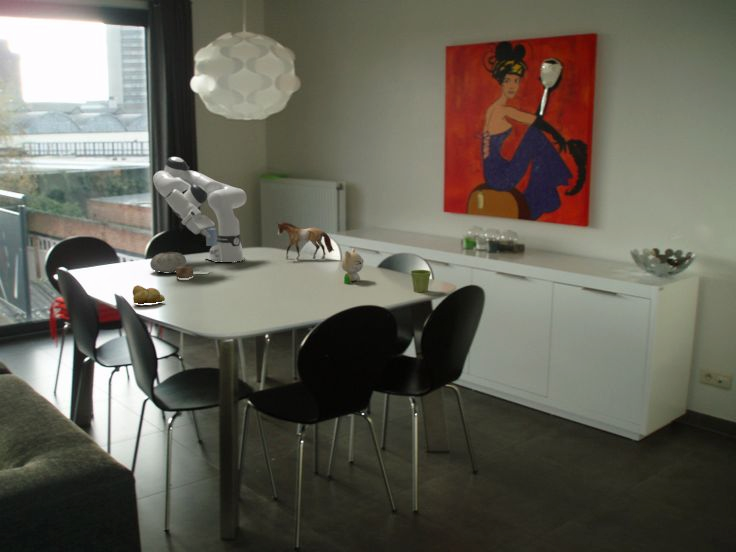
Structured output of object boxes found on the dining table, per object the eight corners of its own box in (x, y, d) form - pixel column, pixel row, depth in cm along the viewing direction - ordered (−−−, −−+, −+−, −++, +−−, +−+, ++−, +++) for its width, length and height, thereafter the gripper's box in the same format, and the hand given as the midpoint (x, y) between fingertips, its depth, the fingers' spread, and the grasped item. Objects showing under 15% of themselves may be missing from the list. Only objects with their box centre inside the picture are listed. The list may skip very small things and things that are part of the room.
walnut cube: (176, 280, 385) (176, 267, 384) (182, 277, 390) (181, 265, 389) (188, 280, 384) (187, 268, 382) (193, 278, 389) (193, 266, 388)
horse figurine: (277, 260, 435) (275, 222, 431) (279, 258, 442) (278, 220, 438) (334, 260, 432) (333, 222, 428) (335, 258, 439) (335, 220, 435)
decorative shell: (143, 274, 400) (142, 254, 398) (163, 268, 417) (162, 249, 415) (175, 276, 395) (173, 256, 393) (193, 269, 411) (192, 250, 409)
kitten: (357, 284, 368) (356, 252, 365) (336, 283, 371) (336, 251, 369) (367, 278, 382) (367, 247, 379) (347, 277, 385) (347, 246, 382)
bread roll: (165, 301, 339) (164, 283, 338) (163, 307, 330) (162, 287, 328) (134, 303, 337) (133, 284, 336) (131, 308, 328) (129, 289, 326)
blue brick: (206, 245, 392) (205, 229, 391) (209, 244, 396) (208, 228, 395) (214, 245, 391) (213, 229, 390) (217, 244, 395) (216, 228, 394)
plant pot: (435, 290, 354) (435, 270, 353) (425, 294, 346) (425, 274, 345) (416, 288, 359) (416, 269, 357) (406, 292, 351) (406, 272, 349)
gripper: (197, 218, 404) (216, 237, 404) (179, 223, 384) (200, 243, 384) (205, 209, 402) (224, 229, 402) (188, 214, 382) (208, 234, 382)
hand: (212, 236), depth 393 cm, fingers closed on blue brick, 4 cm apart
